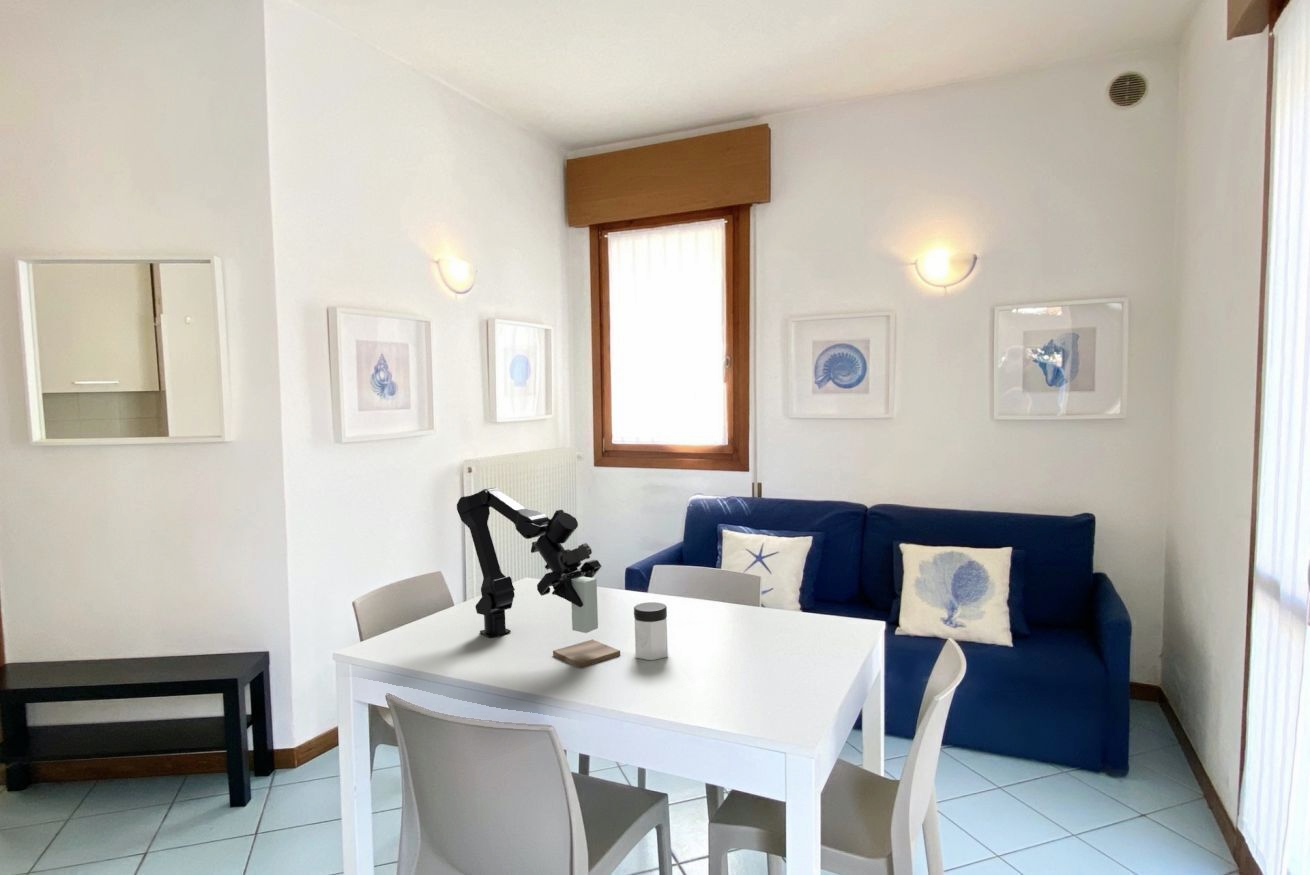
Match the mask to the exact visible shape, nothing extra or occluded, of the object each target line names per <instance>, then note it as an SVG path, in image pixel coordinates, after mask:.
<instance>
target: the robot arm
mask: <svg viewBox="0 0 1310 875" xmlns="http://www.w3.org/2000/svg"><path fill="white" fill-rule="evenodd" d="M490 508H492V509H493V510H495V511H497V512H498V513H499V514H501V515H502V516H503V517H505V518H507V519H508V520H509V521H511V522H512V523H513V525H514V526H515V527H514V528H515V530H516V531H517V532H518V533H519V535H520V536H521V537H523V538H524V539H526V540H530V539H534V538H537V540H536V541H532V542H531V549H530V553H531V554H533V553H534V554H535V553H537V552H538V553H539V554H540V556H541V558H542V559H543V560H544V562H545V563H546V565H544V568H545V569H546V571H547V570H550V572H548V573H545V574H544V575H543V577H542V578H541V579H540V580H539V582H538V583H537V584H536V590H537V591H538V593H539V594H540V596H541V597H542V596H546V595H548V594H550V593H551V594H552V596H557V597H559V598H562V599H565V600H566V601H568V602H569V603H571V604H572V603H573V604H575V605H577V606H579V607H582V606H583V603H582V601H581V599H580V597H579V596H578V594H577V593H576V591H575V589H574V588H573V586H572V580H573V579H576V578H579V577H583V576H584V577H590V578H594V576H595V575H596V574H597V573H598V572H599V570H600V569H601V568H602V565H601V563H600V562H599V560H598V559H592V560H589V559H590V558H591V555H592V553H593V550H592V548H591V547H590V545H589V544H588V543H586V542H585V543H582V544H580V545H578V547H577V548H573V549H569V548H568V549H565V548H564V547H563V545H562V544H566V543H567V541H568V540H569V539H570V537H571V536H572V535H573V534H574V532H575V531H576V530H577V529H578V527H579V522H578V520H577V518H576V517H575V516H573V515H571V514H569V513H568V512H565V511H564V510H563V509H557V510H555V512H554V514H553V516H552V517H551V518H549V517H548V516H547V515H546V514H544V513H542V512H539V511H537V510H533V509H528V508H525V507H524V506H523V505H522V504H520V503H518V502H517V501H515V500H514V499H512V498H511V497H509V496H508V495H507V494H505V493H504V492H502V491H501V489H500V488H497V487H490V488H484V489H482V490H480V491H478V492H477V493H474V494H471V495H466V496H465V495H464V496H462V497H460V498H459V499H458V502H457V503H456V510H457V511H456V512H457V513H458V515H459V518H460V520H461V522H462V523H464V525H465V526H467V528H468V529H469V532H470V535H471V538H472V541H473V545H474V550H475V553H476V556H477V560H478V564H479V567H480V570H481V574H482V578H483V579H482V582H481V587H480V593H481V598H480V599H479V601H478V602H477V603H476V604H475V611H476V614H478V615H482V616H483V621H484V622H483V624H484V625H483V626H484V629H481V630H479V634H481V633H482V634H481V635H483V634H484V636H485V635H486V636H485V637H487V636H488V638H494V636H495V637H498V636H497V635H499V636H502V635H501V634H503V635H506V634H505V633H507V634H509V633H508V632H510V633H512V632H511V630H510V629H509V628H506V610H511V609H512V606H513V601H514V598H515V590H516V588H515V587H514V584H513V580H512V578H511V576H506V575H504V573H503V572H502V570H501V566H500V564H499V559H498V557H497V553H496V549H495V546H494V542H493V539H492V535H491V532H490V528H489V524H488V521H489V517H490V514H491V510H490ZM585 560H589V561H585ZM583 561H585V562H584V563H583V564H582V562H583ZM581 565H582V566H581ZM579 567H580V568H579ZM578 568H579V569H578ZM551 587H552V589H553V591H552V592H551Z"/></svg>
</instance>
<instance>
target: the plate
mask: <svg viewBox="0 0 1310 875" xmlns="http://www.w3.org/2000/svg"><path fill="white" fill-rule="evenodd" d="M552 655H553V657H555V658H558V659H560V660H562V661H564V662H566V663H569V664H571V665H573V666H575V667H577V668H580V669H582V668H585V667H588V666H592V665H595V664H597V663H600V662H603V661H607V660H610V659H613V658H616V657H620V656H621V649H620V650H619V649H617V648H614V647H613V646H610V645H607V644H605V643H603V642H600V641H598V640H594V639H589V640H585V641H582V642H579V643H575V644H571V645H568V646H565V647H561V648H557V649H554V650H552Z"/></svg>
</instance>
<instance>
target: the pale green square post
mask: <svg viewBox="0 0 1310 875" xmlns="http://www.w3.org/2000/svg"><path fill="white" fill-rule="evenodd" d="M597 584H598V582H597V578H595V577H593V578H590V577H584V576H583V577H579V578H576V579H572V586H573V588H574V589H575V591H576V593H577V594H578V596H579V597H580V599H581V601H582V603H583V606H582V607H579V606H577V605H575V604H573V603H571V624H572V625H571V626H572V631H576V632H580V633H584V634H588V633H590V632H592V631H595V630H597V629H599V617H598V610H599V609H598V591H597V590H598V587H597Z"/></svg>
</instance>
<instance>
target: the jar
mask: <svg viewBox="0 0 1310 875" xmlns="http://www.w3.org/2000/svg"><path fill="white" fill-rule="evenodd" d="M667 609H668V607H667V605H666V604H664V603H662V602H654V601H653V602H652V601H651V602H641V603H638V604H636V605H635V606H634V607H633V615H634V616H633V617H634V637H635V638H634V639H635V640H634V642H635V643H634V644H635V658H636V659H642V660H645V661H657V660H660V659H663V658H668V657H669V653H668V651H669V650H668V625H667V624H668V623H667V622H668V621H667V620H668V619H667V617H668V615H667V614H668V612H667V611H668V610H667Z"/></svg>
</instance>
